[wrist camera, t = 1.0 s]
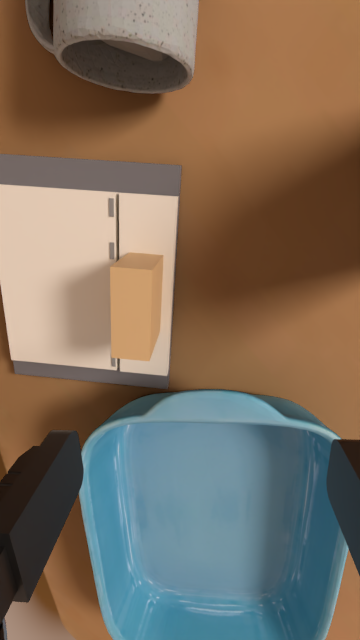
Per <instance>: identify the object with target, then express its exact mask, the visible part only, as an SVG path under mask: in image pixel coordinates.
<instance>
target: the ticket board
mask: <svg viewBox="0 0 360 640" xmlns="http://www.w3.org/2000/svg"><path fill="white" fill-rule="evenodd" d="M181 168H182V166H181V165H168V164H152V163H136V162H120V161H104V160H88V159H72V158H56V157H40V156H25V155H9V154H0V285H1V292H2V299H3V306H4V313H5V320H6V327H7V334H8V341H9V348H10V355H11V360H13V364H14V371H15V374H23V375H33V376H43V377H53V378H62V379H72V380H82V381H92V382H102V383H112V384H122V385H132V386H141V387H151V388H161V389H168V385H169V373H170V356H171V339H172V322H173V305H174V288H175V271H176V254H177V237H178V220H179V203H180V186H181ZM119 193H135V194H150V195H164V196H179V197H178V215H177V232H176V250H175V267H174V285H173V302H172V320H171V337H170V355H169V371H168V375H167V376H162V375H152V374H142V373H131V372H121V371H120V359H119V358H111V299H110V266H112V265H113V264H114V263H116V262H117V261H118V260H119Z"/></svg>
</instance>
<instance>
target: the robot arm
mask: <svg viewBox="0 0 360 640" xmlns="http://www.w3.org/2000/svg"><path fill="white" fill-rule="evenodd" d="M83 475H84V468H83V461H82V455H81V449H80V443H79V437H78V433H77V432H76V431H70V430H52V431H51V432H50V433H49V434H48V435H47V437H46V438H45V439H44V441H43V442H42V444H41V445H40V446H33V447H32V448H30V449H29V450H28V451H27V452H25V453H24V454H23V455H21V456H20V457H19V458H18V459H17V460H16V462H15V463H14V464H13V466H12V467H11V468H10V470H9V471H8V474H6V475H5V476H4V477H3V479H2V480H1V482H0V640H7V631H6V622H5V618H4V617H5V615H6V613H7V611H8V609H9V607H10V605H11V603H12V601H16V602H29V600H30V598H31V596H32V594H33V591H34V589H35V587H36V585H37V583H38V580H39V578H40V576H41V574H42V572H43V570H44V567H45V565H46V563H47V561H48V559H49V556H50V554H51V552H52V550H53V548H54V545H55V543H56V541H57V539H58V537H59V535H60V532H61V530H62V528H63V526H64V524H65V521H66V519H67V517H68V515H69V513H70V511H71V508H72V506H73V504H74V502H75V500H76V497H77V495H78V493H79V491H80V488H81V486H82V482H83ZM326 486H327V493H328V498H329V501H330V504H331V506H332V509H333V511H334V514H335V516H336V518H337V521H338V523H339V526H340V528H341V531H342V533H343V536H344V538H345V541H346V543H347V546H348V548H349V551H350V553H351V556H352V558H353V561H354V563H355V565H356V568H357V570H358V573H359V575H360V440H346V439H334V440H333V441H332V444H331V451H330V457H329V464H328V471H327V478H326Z"/></svg>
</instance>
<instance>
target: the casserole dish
mask: <svg viewBox="0 0 360 640" xmlns="http://www.w3.org/2000/svg"><path fill="white" fill-rule="evenodd" d="M334 439H341V438H340V437H339V436H338V435H337V434H336V433H334V432H333V431H332V430H330V429H329V428H327V427H326V426H325V425H324V424H323V423H322V422H321V421H319V420H318V419H317V418H316V417H315V416H314V415H313V414H311V413H310V412H309V411H307V410H306V409H304V408H303V407H301V406H300V405H298V404H296V403H294V402H292V401H289V400H286V399H282V398H278V397H273V396H266V395H253V394H248V393H244V392H239V391H232V390H222V389H198V390H187V391H181V392H171V393H159V394H152V395H147V396H144V397H141V398H138V399H136V400H134V401H131V402H130V403H128V404H126V405H125V406H123V407H122V408H120V409H119V410H118V411H116V412H115V413H114V414H113V415H112V416H111V417H109V418H108V419H107V420H106V421H105V422H104V423H103V424H102V425H100V426H99V427H98V428H97V429H95V430H94V432H93V433H92V434H91V435H90V436H89V437H88V439H87V440H86V442H85V444H84V446H83V448H82V451H81V455H82V461H83V468H84V475H83V482H82V486H81V488H80V491H79V497H80V504H81V510H82V517H83V522H84V527H85V532H86V537H87V542H88V548H89V553H90V558H91V564H92V569H93V574H94V580H95V585H96V590H97V595H98V600H99V605H100V609H101V613H102V616H103V620H104V623H105V625H106V628H107V630H108V632H109V634H110V635H111V637H112V638H113V640H325V639H326V636H327V633H328V630H329V627H330V625H331V621H332V617H333V613H334V610H335V605H336V601H337V597H338V593H339V588H340V584H341V579H342V575H343V570H344V566H345V561H346V557H347V553H348V546H347V543H346V541H345V538H344V536H343V533H342V531H341V528H340V526H339V523H338V521H337V518H336V516H335V514H334V511H333V509H332V506H331V504H330V501H329V498H328V493H327V486H326V478H327V471H328V464H329V457H330V451H331V444H332V441H333V440H334Z"/></svg>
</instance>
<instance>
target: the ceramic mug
mask: <svg viewBox="0 0 360 640" xmlns="http://www.w3.org/2000/svg"><path fill="white" fill-rule="evenodd" d="M25 4H26V13H27V19H28V23H29V26H30V29H31V31H32V33H33V34H34V36H35V38H36V39H37V40H38V42H39V43H40V44H41V45H42V46H43V47H44V48H45V49H47V50H48V51H49V52H51V53H53V54H54V55H55V57H56V59H57V60H58V62H59V63H60V64H61V65H62V66H63V67H64V68H66V69H67V70H68V71H70V72H71V73H73V74H75V75H77V76H78V77H80V78H82V79H84V80H87V81H90V82H92V83H95V84H97V85H101V86H104V87H107V88H111V89H115V90H123V91H129V92H134V93H150V94H154V93H166V92H172V91H175V90H179V89H182V88H183V87H185V86H186V85H187V84H189V82H190V81H191V79H192V78H193V74H194V65H195V49H196V35H197V20H198V5H199V0H54V17H53V39H52V36H51V30H50V28H49V6H50V0H25Z"/></svg>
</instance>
